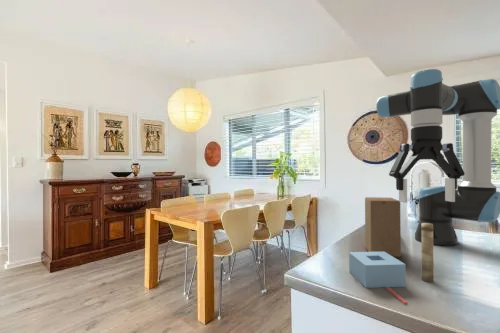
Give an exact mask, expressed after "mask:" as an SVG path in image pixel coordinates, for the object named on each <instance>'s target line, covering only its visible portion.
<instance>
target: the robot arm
mask: <svg viewBox="0 0 500 333" xmlns="http://www.w3.org/2000/svg"><path fill="white" fill-rule="evenodd" d="M443 80H444V79H443V74H442V71H441V70H440V69H436V68H429V69H424V70H420V71H417V72H415V73H413V74H412V75H411V77H410V84H409V90H407V91H402V92H397V93H393V94H392V93H391V94H387V95H384V96H381V97H379V98H378V99H377V101H376V105H375V106H376V112H377V115H378V116H379V117H381V118H382V119H383V118H393V117H400V116H401V117H402V116H407V115H408V116H409V115H410V126H411V129H410V140H411V144H409V143H402V144H400V145H399V152H398V154H397V156H396V158H395V161H394V162H393V164H392V167H391V169H390V171H389V172H388V176H389V177H393V178H394V179H395V180H396V181H395V183H396V184H395V186H396V187H395V188H396V190H397V191H398V201H400V203H408V179H407V178H405V177H406V176H407V175H408V174H409V173H410V172H411V170H412V169H413V167H414V166H415V165H416V164H417V162H418V161H420V160H432V161H434V162H435V163H436V164H437V166H438V167H439V169H441V170H442V171H443V173H444V174H445V175H446V176H447V177H445V178H444V185H441V186H426V187H422V188H421V189H420V190H419V194H418V212H419V213H418V215H419V216H418V217H419V221H418V224H417V227H416V230H415V232H414V240H416V241H418V242H419V243H420V242H421V243H422V237H421V223H430V224H433V246H434V245H436V246H456V245H458V242H459V238H458V235H457V233H456V230H455V228H454V225H453V219H456V220H463V221H471V222H478V223H494V222H496V221H497V220H498V218H499V217H500V191H497V186H496V185H495V184H494V183H492V123H493V121H492V120H493V119H494V118H495V117H496V116H498V110H500V84H499V83H498V81H497V80H496V79H495V78H489V79H483V80H481V79H480V80H477V81H472V82H467V83H463V84H457V85H451V86H450V85H447V84H445V83H443ZM454 115H457V116H458V117H457V118H458V119H459V120H460V121H462V165H461V163H460V161H459V159H458V157H457V155H456V153H455V151H454V144H453V143H452V142H449V143H443V144H442V139H443V127H442V126H441V125H442V124H443V116H454ZM410 151H411V152H412V153H411V154H410V156H409V157H408V155H409V152H410ZM441 151H442V152H441ZM442 153H443V154H442ZM407 157H408V159H407ZM406 159H407V160H406ZM461 177H462V178H461ZM458 179H462V181H461V182H460V183H459V184H458Z"/></svg>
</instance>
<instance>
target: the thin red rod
mask: <svg viewBox="0 0 500 333" xmlns="http://www.w3.org/2000/svg"><path fill="white" fill-rule="evenodd" d="M385 289H386V290H387V291H388V292H389V293H390V294H392V296H394V297H395V298H397V300H398V301H400V302H401V303H402V304H403V305H408V301H407V300H406V299H404V298H403V297H402V296H401V295H399V294H398V293H397V292H395V291H394V290H393V289H392V287H385Z"/></svg>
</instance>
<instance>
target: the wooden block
mask: <svg viewBox="0 0 500 333" xmlns="http://www.w3.org/2000/svg"><path fill="white" fill-rule="evenodd" d="M364 224H365V225H364V229H365V231H364V232H365V233H364V234H365V237H364V238H365V240H364V243H365V244H364V245H365V248H366V250H367V252H382V251H384V252H386V253H388V254H389V255H391V256H393V257H394V258H400V257H401V250H402V249H401V248H402V246H401V245H402V244H401V240H402V239H401V238H402V237H401V236H402V235H401V202H400V201H399V199H396V198H393V197H379V196H378V197H376V196H375V197H373V196H371V197H370V196H369V197H367V196H366V197H365V198H364Z"/></svg>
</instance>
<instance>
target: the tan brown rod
mask: <svg viewBox="0 0 500 333" xmlns="http://www.w3.org/2000/svg"><path fill="white" fill-rule="evenodd" d="M421 237H422V242H421V281H423V282H426V283H434V276H435V275H434V273H435V272H434V244H433V224H430V223H421Z"/></svg>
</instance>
